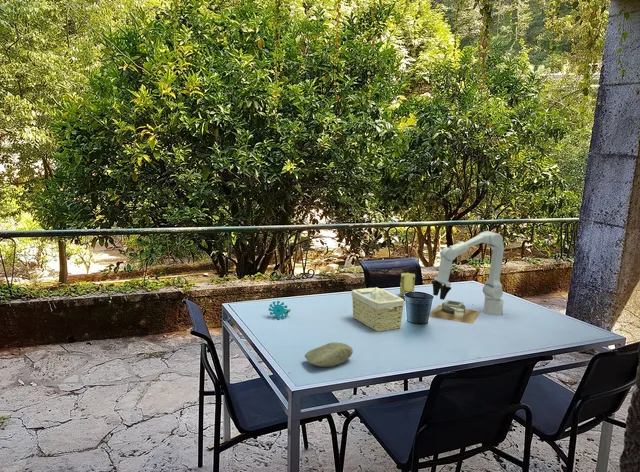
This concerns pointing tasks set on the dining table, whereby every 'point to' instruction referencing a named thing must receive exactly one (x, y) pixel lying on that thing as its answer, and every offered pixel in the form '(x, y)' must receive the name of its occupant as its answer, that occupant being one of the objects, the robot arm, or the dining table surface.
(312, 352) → the rock
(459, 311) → the flanged cap
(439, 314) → the board
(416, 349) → the dining table surface
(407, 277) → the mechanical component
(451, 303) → the grey round socket base
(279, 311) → the teal virus model
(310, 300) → the dining table surface
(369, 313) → the storage basket
